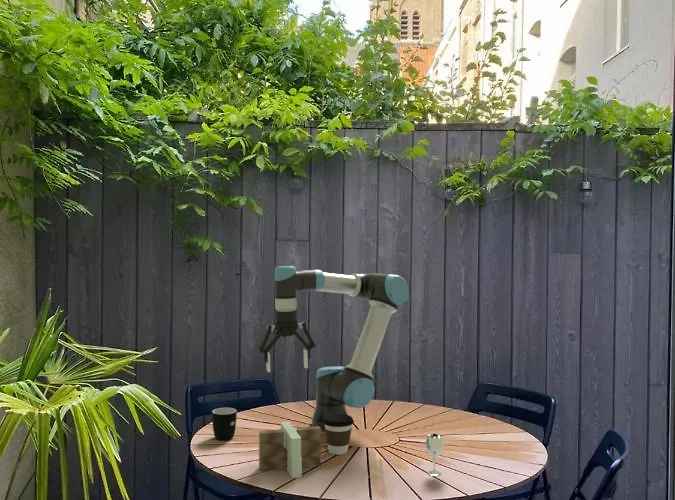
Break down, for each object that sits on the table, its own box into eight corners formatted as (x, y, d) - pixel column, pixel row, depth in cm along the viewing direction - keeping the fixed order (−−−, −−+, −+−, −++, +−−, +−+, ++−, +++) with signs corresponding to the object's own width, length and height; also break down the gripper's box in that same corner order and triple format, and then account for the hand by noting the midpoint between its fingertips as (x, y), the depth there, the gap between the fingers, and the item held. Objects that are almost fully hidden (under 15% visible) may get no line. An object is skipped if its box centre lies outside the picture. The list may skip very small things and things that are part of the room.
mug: (231, 442, 223) (231, 414, 223) (208, 441, 224) (208, 413, 224) (242, 432, 235) (242, 406, 234) (220, 431, 236) (220, 404, 236)
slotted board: (318, 461, 204) (318, 426, 204) (320, 464, 201) (321, 428, 201) (259, 467, 198) (259, 430, 198) (260, 471, 195) (260, 433, 195)
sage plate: (288, 455, 210) (288, 420, 210) (301, 477, 191) (301, 439, 190) (279, 456, 209) (280, 421, 209) (292, 478, 190) (292, 439, 190)
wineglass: (423, 470, 197) (423, 433, 197) (440, 469, 198) (441, 432, 198) (427, 477, 192) (427, 438, 191) (445, 476, 192) (445, 438, 192)
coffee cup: (357, 448, 217) (357, 415, 217) (348, 459, 207) (348, 423, 207) (328, 445, 221) (328, 412, 220) (317, 455, 210) (318, 420, 210)
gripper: (316, 306, 223) (317, 364, 224) (248, 310, 215) (250, 370, 216) (322, 308, 216) (324, 368, 217) (253, 313, 208) (254, 375, 209)
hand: (287, 369), depth 216 cm, fingers open, 13 cm apart
